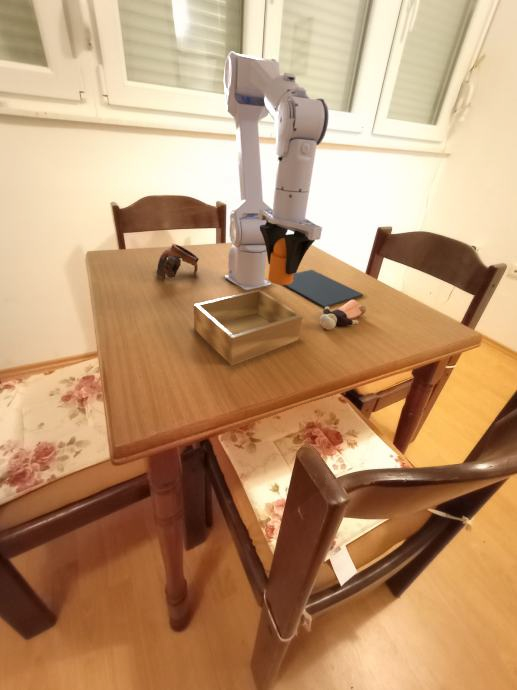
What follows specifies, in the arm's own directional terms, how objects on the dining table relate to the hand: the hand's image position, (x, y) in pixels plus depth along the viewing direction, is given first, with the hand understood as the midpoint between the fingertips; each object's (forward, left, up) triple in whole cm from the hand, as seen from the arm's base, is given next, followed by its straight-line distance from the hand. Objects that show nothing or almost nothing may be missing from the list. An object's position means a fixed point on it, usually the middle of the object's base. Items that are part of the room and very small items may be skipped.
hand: (281, 268), depth 59 cm
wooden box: (+4, -10, -10) cm, 15 cm away
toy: (0, 0, -2) cm, 2 cm away
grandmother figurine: (+7, +16, -9) cm, 20 cm away
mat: (-6, +19, -10) cm, 23 cm away
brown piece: (-28, -9, -11) cm, 32 cm away
